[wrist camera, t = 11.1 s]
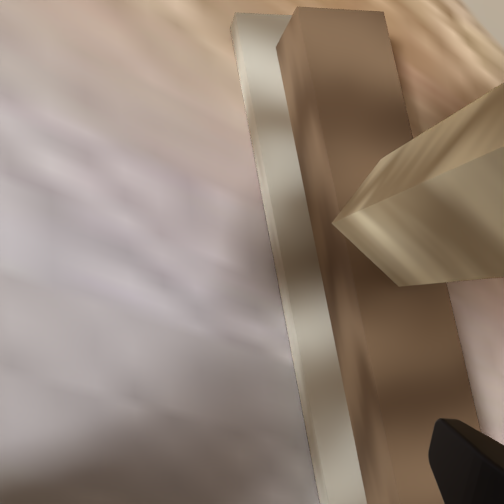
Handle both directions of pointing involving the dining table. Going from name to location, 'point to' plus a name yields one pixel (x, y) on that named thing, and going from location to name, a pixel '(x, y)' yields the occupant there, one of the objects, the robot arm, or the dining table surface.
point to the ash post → (437, 201)
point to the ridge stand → (346, 255)
